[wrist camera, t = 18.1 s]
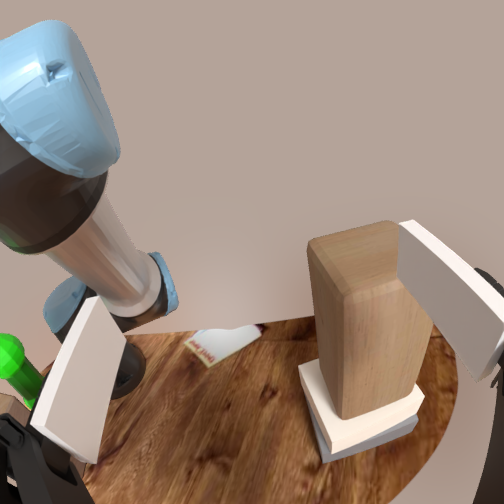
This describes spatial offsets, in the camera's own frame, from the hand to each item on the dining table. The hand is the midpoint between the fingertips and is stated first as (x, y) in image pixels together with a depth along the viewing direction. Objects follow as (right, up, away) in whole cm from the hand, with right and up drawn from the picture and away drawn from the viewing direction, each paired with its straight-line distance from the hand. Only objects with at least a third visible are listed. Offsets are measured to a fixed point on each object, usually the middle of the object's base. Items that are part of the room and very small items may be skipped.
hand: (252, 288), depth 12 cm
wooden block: (+15, -16, +21) cm, 30 cm away
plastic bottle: (-47, -34, +36) cm, 69 cm away
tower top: (+15, -20, +24) cm, 34 cm away
